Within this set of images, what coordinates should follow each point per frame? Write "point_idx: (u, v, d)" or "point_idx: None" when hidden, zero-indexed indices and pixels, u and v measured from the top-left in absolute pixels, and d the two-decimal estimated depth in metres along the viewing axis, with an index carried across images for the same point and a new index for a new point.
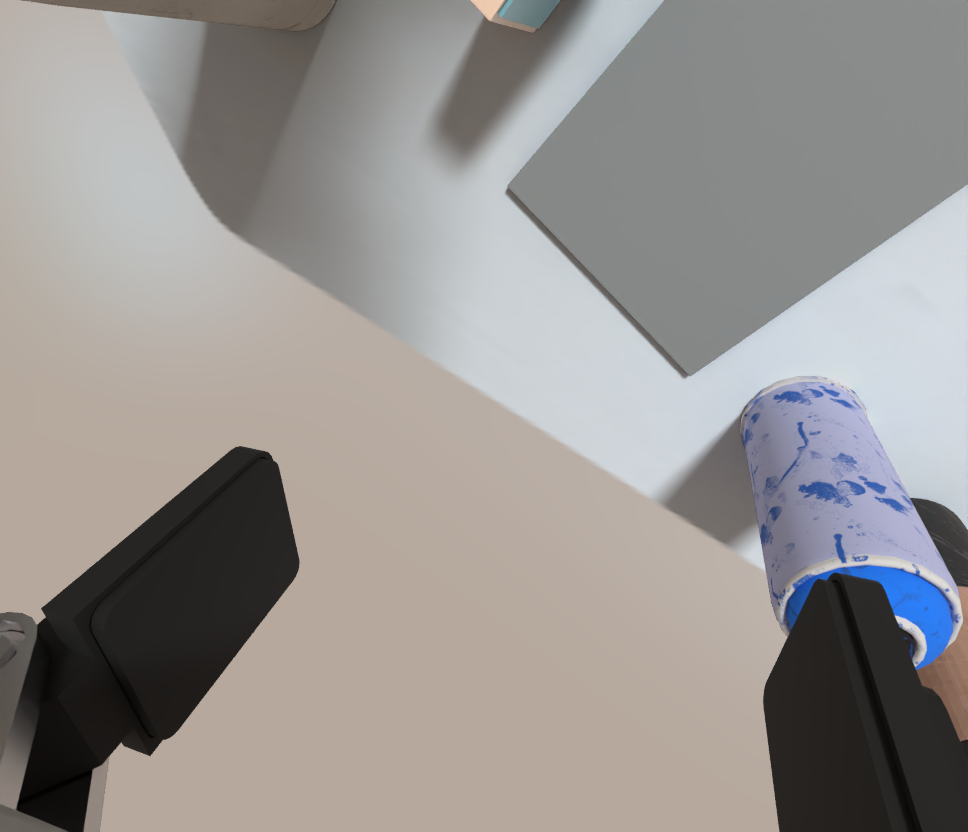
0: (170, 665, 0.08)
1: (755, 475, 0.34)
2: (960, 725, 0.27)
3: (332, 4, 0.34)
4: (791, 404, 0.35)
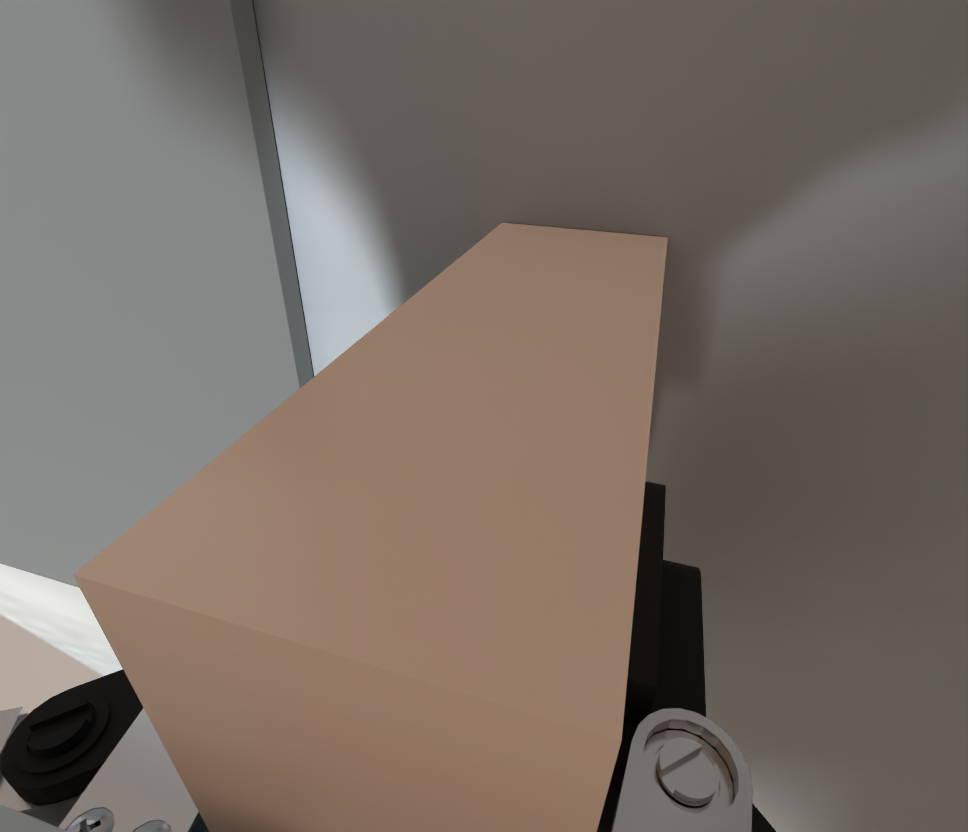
0: None
1: None
2: None
3: None
4: None
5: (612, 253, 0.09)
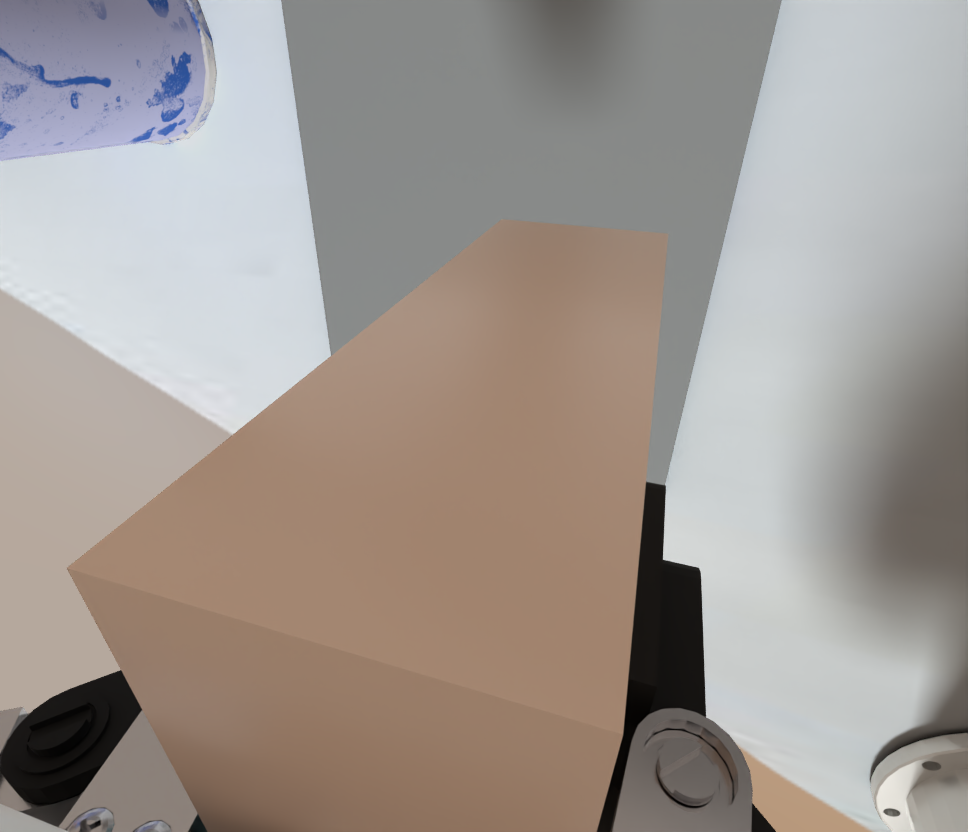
0: None
1: None
2: None
3: None
4: (157, 78, 0.22)
5: (612, 249, 0.09)
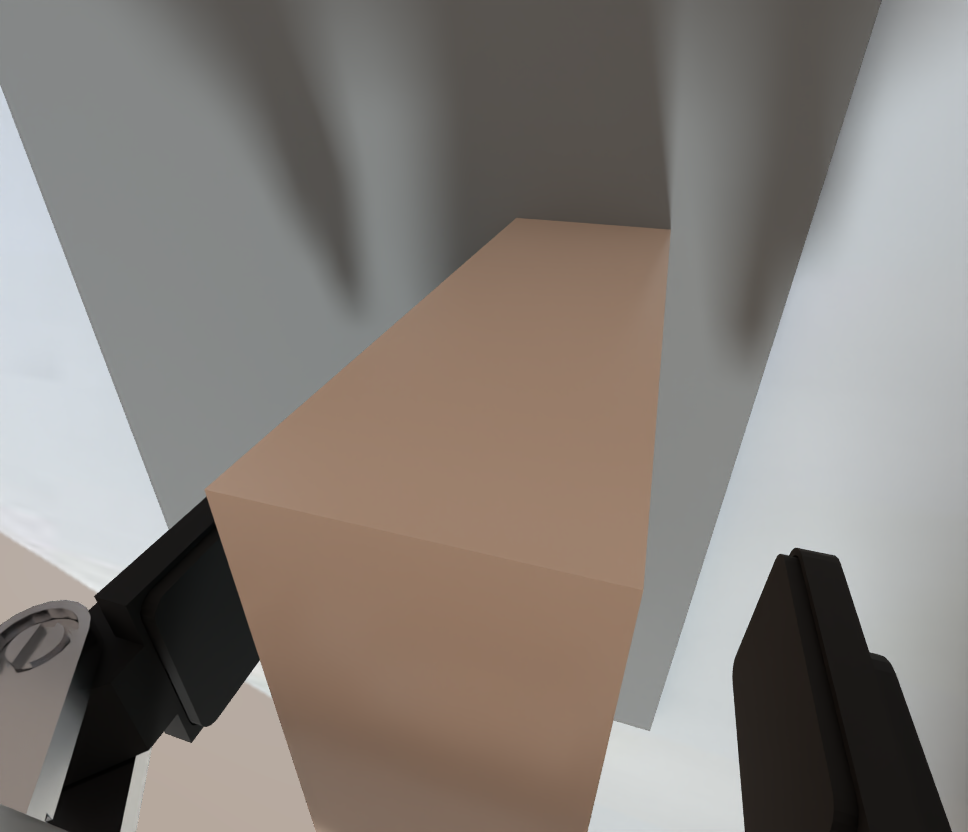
0: (212, 653, 0.09)
1: None
2: None
3: None
4: None
5: (620, 243, 0.10)
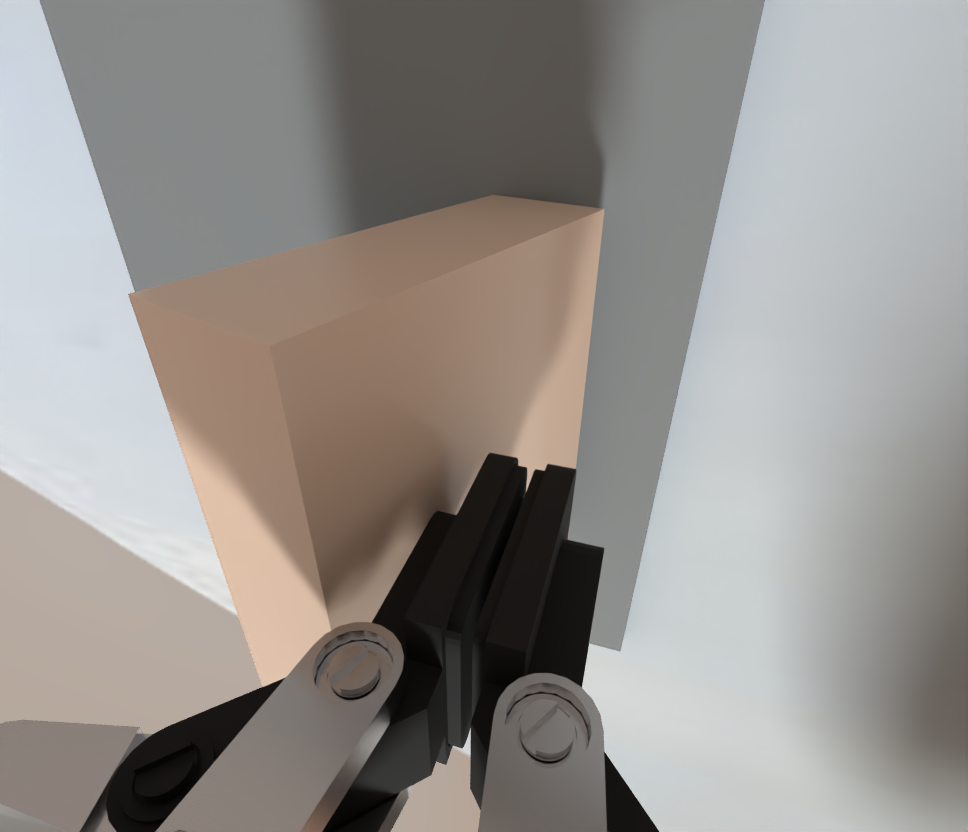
0: None
1: None
2: None
3: None
4: None
5: (542, 215, 0.12)
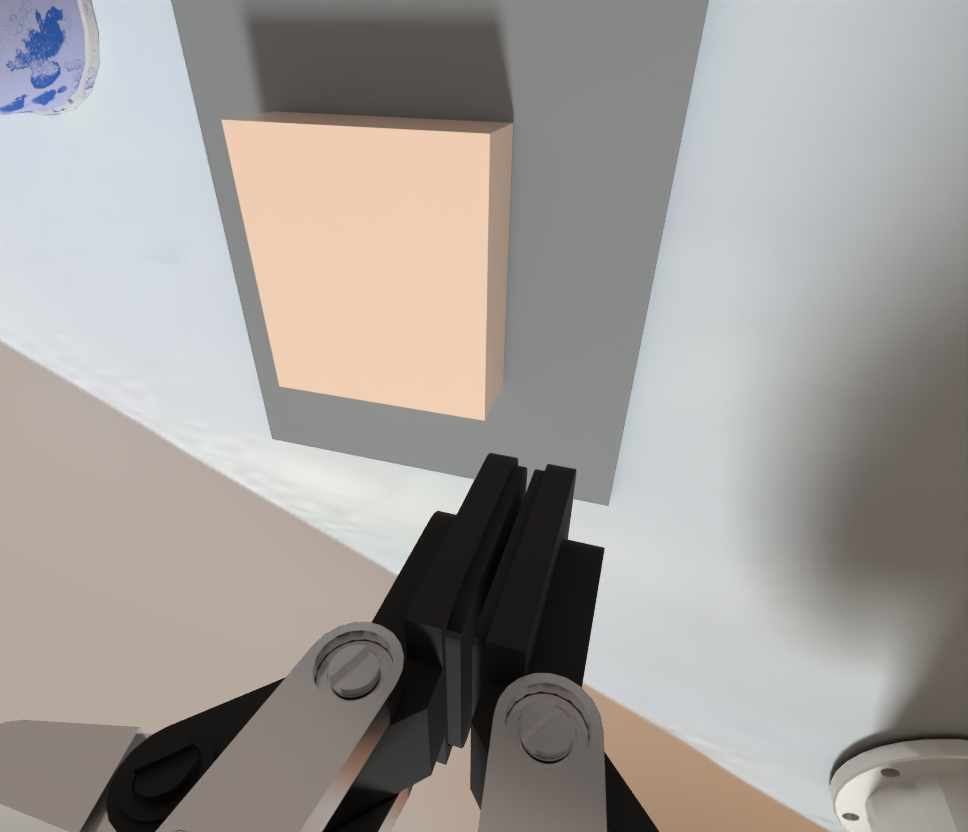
0: None
1: None
2: None
3: None
4: (18, 37, 0.19)
5: (453, 128, 0.17)
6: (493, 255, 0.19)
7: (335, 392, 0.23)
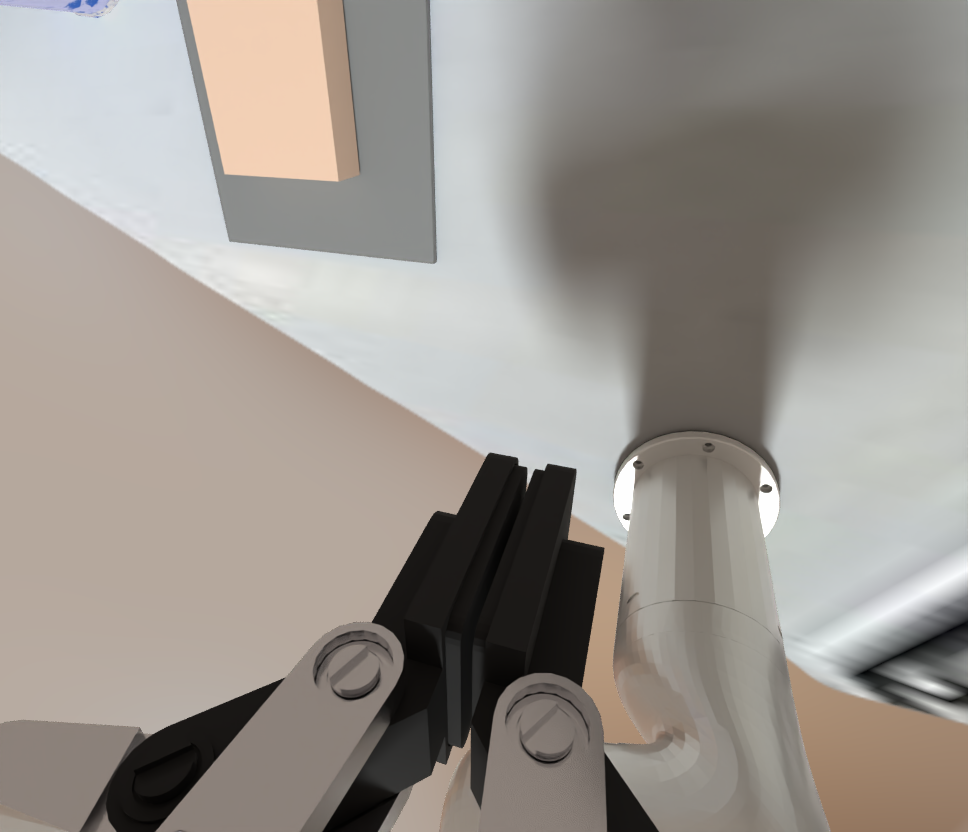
0: None
1: None
2: None
3: None
4: None
5: None
6: (331, 71, 0.34)
7: (256, 173, 0.39)
